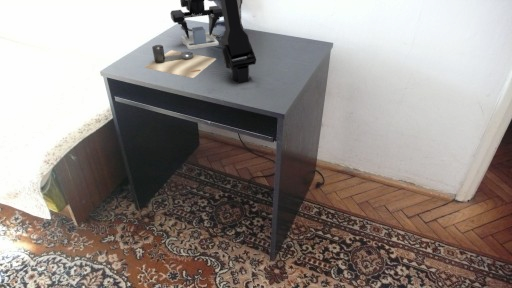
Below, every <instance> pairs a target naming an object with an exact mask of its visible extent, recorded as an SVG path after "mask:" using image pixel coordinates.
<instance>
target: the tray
mask: <svg viewBox="0 0 512 288" xmlns="http://www.w3.org/2000/svg"><path fill="white" fill-rule="evenodd" d="M206 32H207V31H206ZM205 34H206V43H202V44H195V43H194V40H193V33H192V34H189V39H188V38H187V36H186V34H185V35H181V43H182V45H185V46H186V48H187V49H188V50H195V49H200V48H202V49H203V48H207V47H215V46H220V44H219V41H218V40H217V38H216V37H215V36H213V35H212V34H211V35H209V31H208V32H207V33H205ZM191 44H193V45H191Z"/></svg>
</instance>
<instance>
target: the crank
mask: <svg viewBox="0 0 512 288" xmlns="http://www.w3.org/2000/svg"><path fill="white" fill-rule="evenodd" d="M151 49H152V53H153V59H154V61H155V62H156V63H163V62H165V61H170V60H177V59H191V58H193V54H194V52H193V51H181V52H182V53H181V54H179V55H173V56H166V57H165V55H164V54H165V50H164V46H163V45H161V44H155V45H153V46H152V48H151Z"/></svg>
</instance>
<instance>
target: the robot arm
mask: <svg viewBox="0 0 512 288" xmlns="http://www.w3.org/2000/svg"><path fill="white" fill-rule="evenodd" d="M220 4H221V5H220V6H221V7H220V6H219V5H211V6H208V9H205V0H180V7H181V8H186V11H185V12H183V10H182V9H176V10H175V9H174V10H171V11H170V13H169V14H170V18H171V19H170V20H172V22H173V23H174V24H176V23H177V24H178V25H179V26H182V27H183V28H182V29H183V31H184V34H185V35H186V36H187V38H188V39H189V35H190V34H189V31H188V28H189V27H188V23H187V20H186V19H187V18H196V17H204V16H207V17H208V32H209V35H211V34H212V33H213V31H214V28H215V26H216V24H217V22H218V21H219V20H220V19H221V18H223V23H224V29H225V31H224V33H223V35H224V36H223V35H221V36H222V37H221V38H220V40H221V44H222V47H221V52H222V56H223V62H224V65H225V68H226V69H229V70H230V71H231V74H230V77H231V80H232V81H233V82H235V83H237V84H243V83H248V82H250V66H252V65H256V63H257V57H256V55H255V52H254V49H253V47H252V45H251V42H250V38H249V35H248V34H247V33H246V31H245V30H243V29H244V28H243V29H242V27H243V26H242V27H241V24H242V21H241V22H240V16H239V9H238V3H237V0H220ZM187 27H188V28H187Z"/></svg>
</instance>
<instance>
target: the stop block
mask: <svg viewBox="0 0 512 288" xmlns="http://www.w3.org/2000/svg"><path fill="white" fill-rule="evenodd" d="M191 28H192V31H191V32H192V34H193V40H194V43H193V44H194V45H198V44H205V43H207V42H206V34H205V32H206V29H205V28H204V27H203V26H195V27H191Z"/></svg>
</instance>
